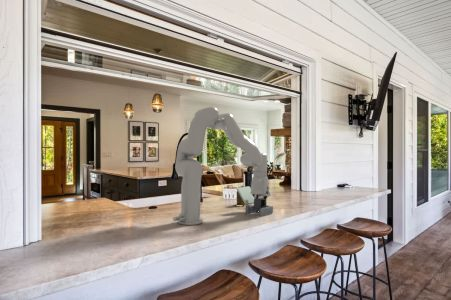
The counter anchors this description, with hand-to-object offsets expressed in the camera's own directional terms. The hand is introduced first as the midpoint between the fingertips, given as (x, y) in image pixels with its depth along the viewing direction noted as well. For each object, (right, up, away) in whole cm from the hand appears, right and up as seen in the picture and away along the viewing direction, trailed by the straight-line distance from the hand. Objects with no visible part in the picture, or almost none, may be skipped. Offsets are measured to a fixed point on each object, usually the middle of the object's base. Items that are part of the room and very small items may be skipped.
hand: (260, 205), depth 170 cm
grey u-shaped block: (0, -5, 0) cm, 5 cm away
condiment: (-10, -5, +26) cm, 29 cm away
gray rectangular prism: (0, 0, 0) cm, 0 cm away
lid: (-7, +5, +6) cm, 10 cm away
